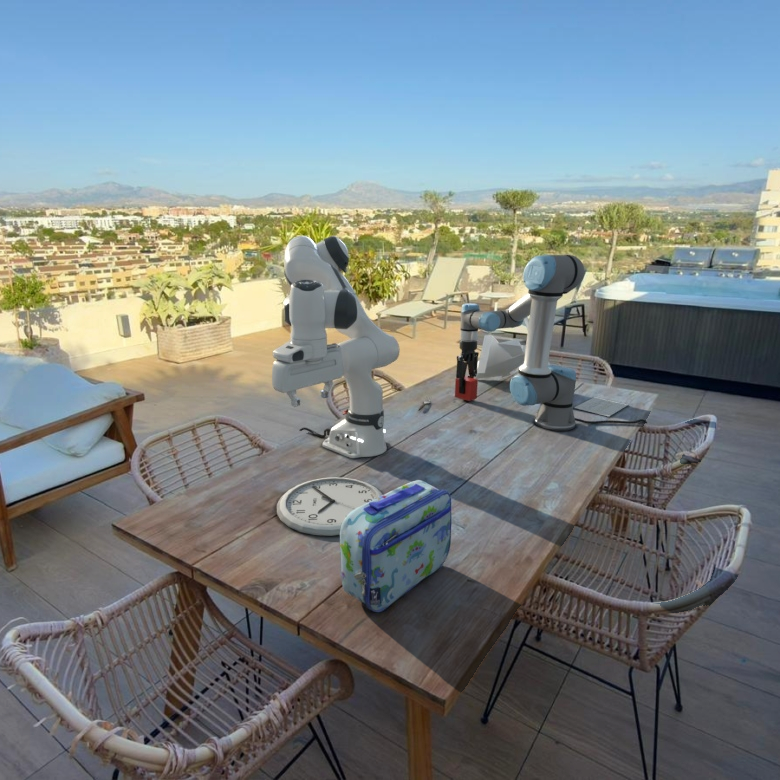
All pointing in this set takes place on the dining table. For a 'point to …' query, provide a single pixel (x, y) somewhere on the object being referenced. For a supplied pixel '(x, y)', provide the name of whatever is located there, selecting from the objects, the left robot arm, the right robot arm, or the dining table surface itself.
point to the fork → (425, 403)
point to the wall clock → (323, 504)
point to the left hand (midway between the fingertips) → (310, 401)
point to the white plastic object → (500, 356)
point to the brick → (467, 389)
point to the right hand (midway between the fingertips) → (465, 391)
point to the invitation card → (601, 406)
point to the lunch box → (394, 543)
